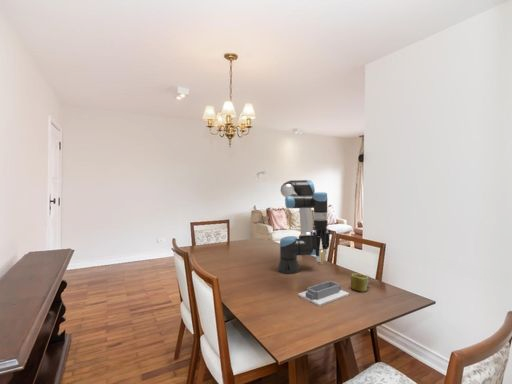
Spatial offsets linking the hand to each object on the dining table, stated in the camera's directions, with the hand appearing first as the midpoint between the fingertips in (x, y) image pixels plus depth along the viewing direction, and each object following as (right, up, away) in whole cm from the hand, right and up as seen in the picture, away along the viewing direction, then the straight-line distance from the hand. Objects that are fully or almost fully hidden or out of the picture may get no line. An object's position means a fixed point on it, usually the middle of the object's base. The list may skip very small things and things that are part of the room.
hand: (321, 260), depth 157 cm
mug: (+24, -17, +4) cm, 30 cm away
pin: (0, -2, 0) cm, 2 cm away
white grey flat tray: (0, -18, -5) cm, 18 cm away
